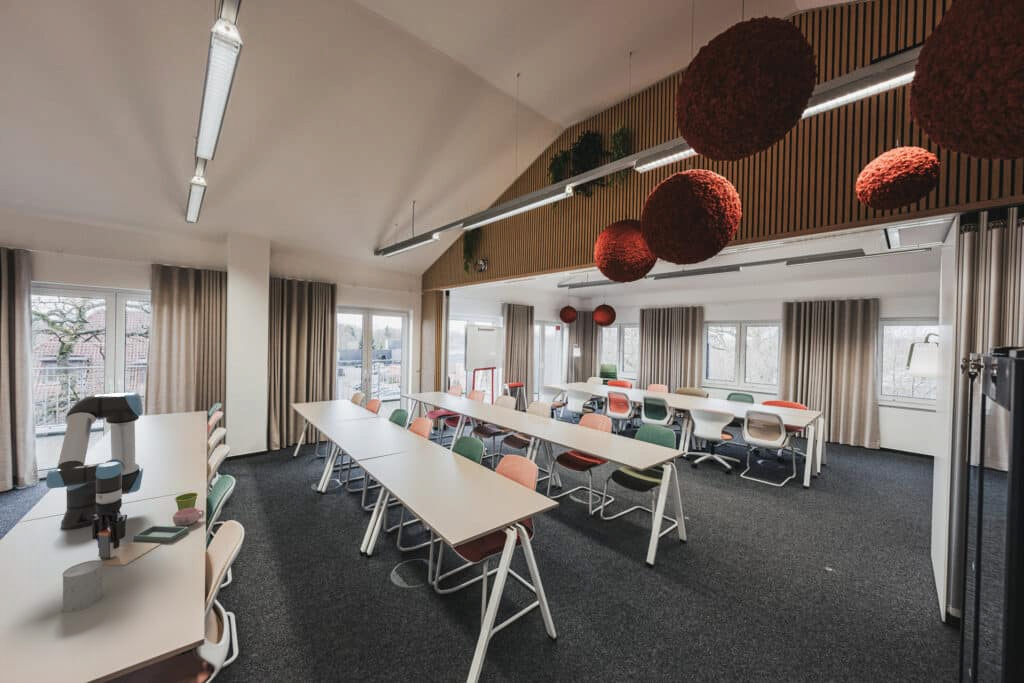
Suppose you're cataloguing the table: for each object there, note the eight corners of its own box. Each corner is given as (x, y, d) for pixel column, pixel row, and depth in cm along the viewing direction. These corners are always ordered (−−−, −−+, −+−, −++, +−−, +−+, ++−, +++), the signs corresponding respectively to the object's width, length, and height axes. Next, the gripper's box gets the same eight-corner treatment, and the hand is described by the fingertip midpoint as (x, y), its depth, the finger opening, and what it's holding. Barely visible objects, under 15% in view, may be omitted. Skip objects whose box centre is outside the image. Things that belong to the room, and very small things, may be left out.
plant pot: (184, 518, 197) (184, 501, 197) (169, 515, 199) (169, 499, 199) (202, 509, 206) (202, 493, 206) (188, 507, 208) (188, 491, 208)
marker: (98, 559, 159) (98, 532, 159) (109, 553, 163) (109, 527, 163) (108, 560, 159) (108, 533, 159) (118, 554, 163) (118, 528, 163)
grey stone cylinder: (82, 593, 141) (82, 560, 140) (110, 592, 142) (110, 559, 141) (53, 612, 131) (53, 577, 131) (84, 611, 132) (84, 576, 132)
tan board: (91, 564, 157) (91, 563, 157) (130, 542, 173) (130, 541, 173) (124, 565, 157) (124, 564, 157) (161, 544, 173) (161, 543, 173)
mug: (172, 530, 185) (172, 518, 184) (173, 522, 192) (173, 510, 192) (204, 523, 192) (204, 511, 192) (203, 515, 200) (203, 504, 200)
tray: (133, 541, 175) (133, 535, 175) (152, 530, 184) (153, 525, 184) (170, 542, 175) (170, 537, 174) (188, 532, 184) (188, 527, 184)
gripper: (78, 503, 157) (78, 559, 158) (119, 505, 157) (119, 561, 158) (98, 495, 165) (98, 549, 165) (137, 497, 164) (137, 551, 165)
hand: (108, 555), depth 161 cm, fingers closed on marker, 4 cm apart
